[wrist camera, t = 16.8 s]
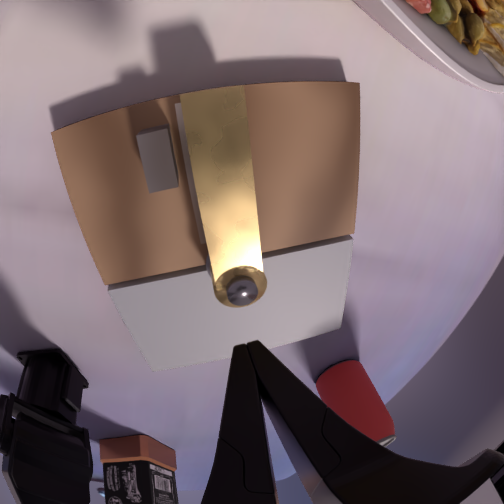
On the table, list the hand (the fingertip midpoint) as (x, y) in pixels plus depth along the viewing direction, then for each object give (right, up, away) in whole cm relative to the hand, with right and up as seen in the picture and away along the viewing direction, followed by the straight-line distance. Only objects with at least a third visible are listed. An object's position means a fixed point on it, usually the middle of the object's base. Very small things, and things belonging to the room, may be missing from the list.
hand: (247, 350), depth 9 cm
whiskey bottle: (-19, -29, +28) cm, 44 cm away
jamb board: (-1, 0, +14) cm, 14 cm away
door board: (-2, +8, +8) cm, 12 cm away
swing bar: (-1, +6, +7) cm, 10 cm away
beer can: (+11, -12, +25) cm, 30 cm away
